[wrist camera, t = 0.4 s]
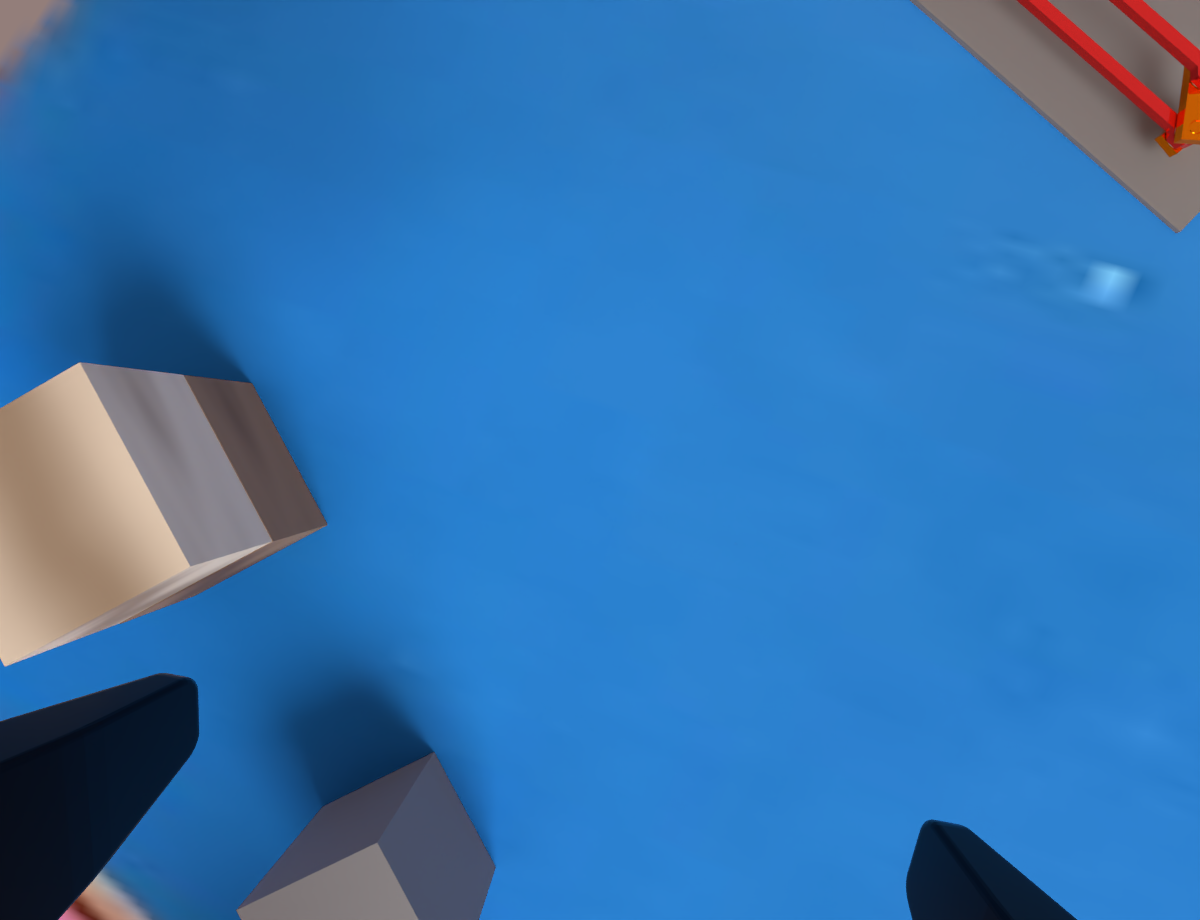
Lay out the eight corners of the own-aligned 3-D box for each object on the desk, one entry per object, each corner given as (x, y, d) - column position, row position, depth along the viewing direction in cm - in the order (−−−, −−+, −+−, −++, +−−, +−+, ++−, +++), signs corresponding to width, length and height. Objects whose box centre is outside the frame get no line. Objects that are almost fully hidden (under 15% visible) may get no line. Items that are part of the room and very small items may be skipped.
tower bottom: (198, 594, 23) (119, 624, 19) (124, 457, 23) (31, 462, 19) (330, 524, 22) (273, 541, 19) (255, 383, 22) (183, 375, 19)
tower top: (119, 623, 19) (5, 666, 16) (31, 461, 19) (-104, 468, 16) (272, 541, 19) (190, 566, 15) (183, 374, 19) (79, 362, 15)
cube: (384, 917, 23) (313, 1053, 18) (323, 805, 23) (236, 909, 18) (496, 865, 22) (456, 989, 17) (435, 750, 22) (377, 842, 17)
